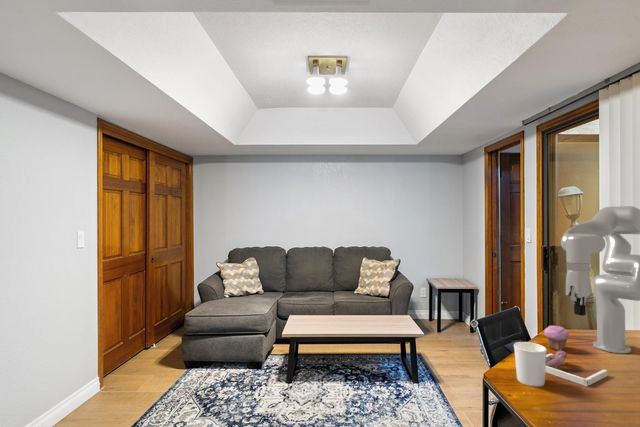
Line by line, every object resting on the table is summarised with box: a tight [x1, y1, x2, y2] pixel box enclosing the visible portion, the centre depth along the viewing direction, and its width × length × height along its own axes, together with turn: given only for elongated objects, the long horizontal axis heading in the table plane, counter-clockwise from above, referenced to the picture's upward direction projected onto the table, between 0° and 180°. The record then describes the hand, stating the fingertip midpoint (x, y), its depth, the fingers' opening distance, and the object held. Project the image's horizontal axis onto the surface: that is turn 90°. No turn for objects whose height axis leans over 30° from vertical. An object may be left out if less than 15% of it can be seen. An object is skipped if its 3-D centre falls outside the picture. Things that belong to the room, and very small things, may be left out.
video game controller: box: [546, 349, 568, 369], centre depth 136 cm, size 10×5×7 cm, turn 138°
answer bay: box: [545, 353, 608, 387], centre depth 131 cm, size 15×19×2 cm
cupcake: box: [543, 325, 570, 352], centre depth 153 cm, size 9×9×10 cm
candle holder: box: [513, 341, 547, 388], centre depth 124 cm, size 10×10×12 cm
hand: (579, 314), depth 137 cm, fingers closed
